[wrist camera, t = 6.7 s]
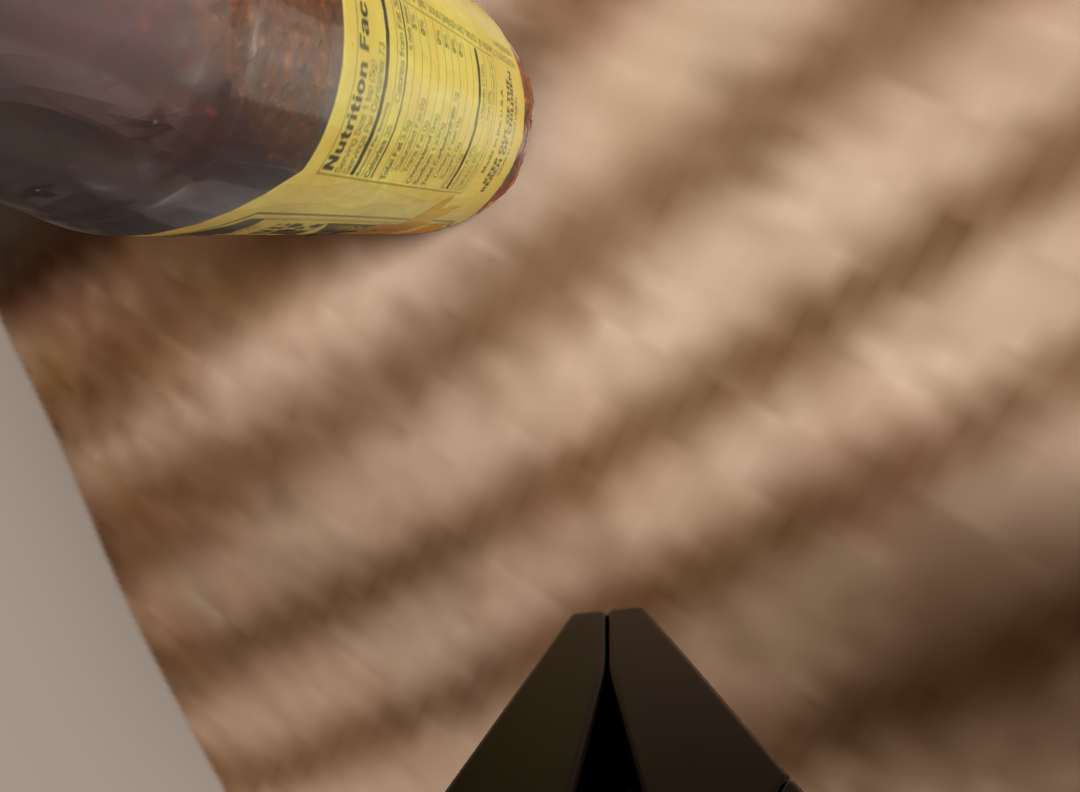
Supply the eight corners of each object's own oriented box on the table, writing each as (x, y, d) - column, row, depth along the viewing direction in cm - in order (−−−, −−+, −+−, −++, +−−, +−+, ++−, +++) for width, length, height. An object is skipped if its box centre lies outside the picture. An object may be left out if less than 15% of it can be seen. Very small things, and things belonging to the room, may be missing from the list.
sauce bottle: (314, 151, 23) (-1629, -220, 5) (419, -43, 21) (-2458, -2202, 2) (474, 284, 22) (-1142, 480, 4) (601, 96, 20) (-1749, -1653, 2)
